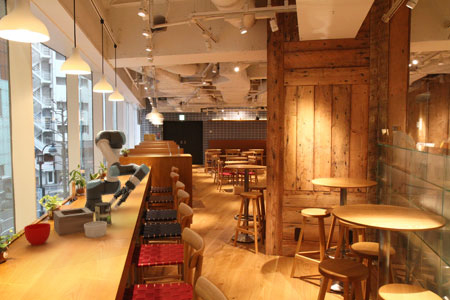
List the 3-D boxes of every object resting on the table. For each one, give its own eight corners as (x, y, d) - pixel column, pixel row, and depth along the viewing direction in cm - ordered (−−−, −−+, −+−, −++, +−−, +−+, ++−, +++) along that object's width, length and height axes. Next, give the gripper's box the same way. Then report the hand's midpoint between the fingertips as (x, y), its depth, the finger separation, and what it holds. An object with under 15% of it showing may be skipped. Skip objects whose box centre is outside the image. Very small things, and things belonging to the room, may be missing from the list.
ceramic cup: (56, 237, 208) (55, 220, 207) (46, 246, 191) (46, 228, 191) (32, 238, 206) (31, 221, 205) (20, 248, 189) (20, 229, 189)
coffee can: (114, 222, 241) (113, 202, 240) (106, 226, 231) (105, 205, 230) (100, 221, 243) (100, 201, 242) (92, 225, 233) (91, 204, 232)
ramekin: (105, 238, 207) (105, 226, 206) (81, 239, 205) (81, 227, 204) (109, 231, 220) (108, 220, 219) (86, 232, 218) (86, 221, 217)
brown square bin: (54, 228, 228) (53, 211, 227) (86, 223, 239) (85, 207, 238) (59, 236, 211) (58, 217, 210) (93, 230, 222) (93, 212, 222)
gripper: (142, 188, 236) (120, 214, 229) (130, 184, 257) (110, 207, 250) (134, 181, 233) (112, 207, 226) (123, 177, 254) (102, 200, 247)
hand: (111, 207), depth 238 cm, fingers open, 13 cm apart
